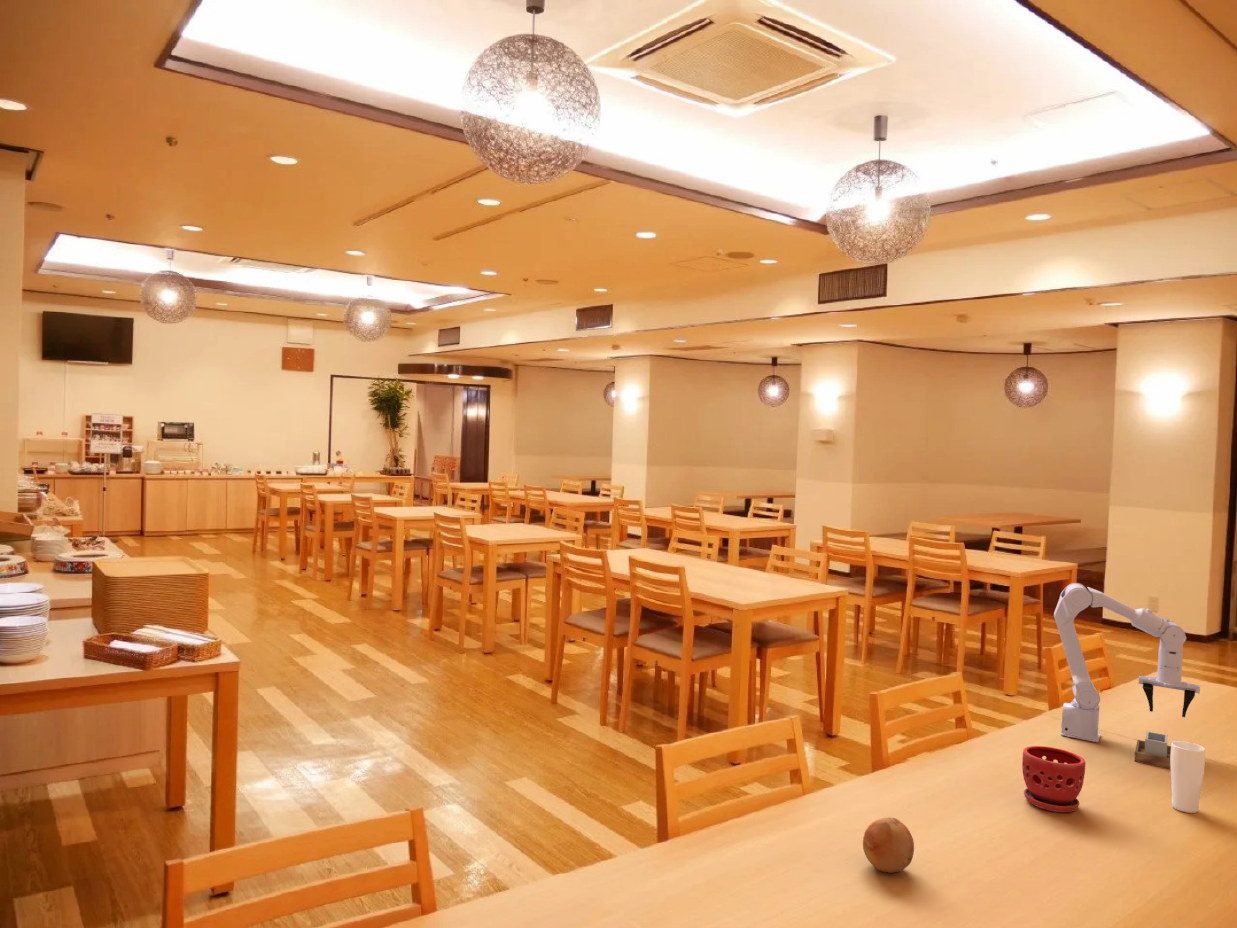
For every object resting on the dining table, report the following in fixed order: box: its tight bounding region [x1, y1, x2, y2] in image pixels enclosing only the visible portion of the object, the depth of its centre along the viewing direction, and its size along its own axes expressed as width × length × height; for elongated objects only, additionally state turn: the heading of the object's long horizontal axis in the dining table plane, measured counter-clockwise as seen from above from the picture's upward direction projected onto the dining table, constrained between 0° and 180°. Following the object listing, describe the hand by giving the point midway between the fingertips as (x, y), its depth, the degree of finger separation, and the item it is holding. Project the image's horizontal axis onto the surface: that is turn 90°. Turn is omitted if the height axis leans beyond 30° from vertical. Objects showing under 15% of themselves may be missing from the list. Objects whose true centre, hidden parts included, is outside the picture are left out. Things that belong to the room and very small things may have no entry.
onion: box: [862, 816, 915, 874], centre depth 168 cm, size 10×10×10 cm
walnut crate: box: [1134, 739, 1171, 770], centre depth 233 cm, size 9×12×2 cm
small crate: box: [1144, 730, 1169, 758], centre depth 233 cm, size 5×8×6 cm, turn 147°
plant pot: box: [1021, 745, 1086, 813], centre depth 201 cm, size 13×13×12 cm
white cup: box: [1169, 740, 1206, 814], centre depth 201 cm, size 7×7×15 cm
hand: (1167, 713), depth 241 cm, fingers open, 7 cm apart
